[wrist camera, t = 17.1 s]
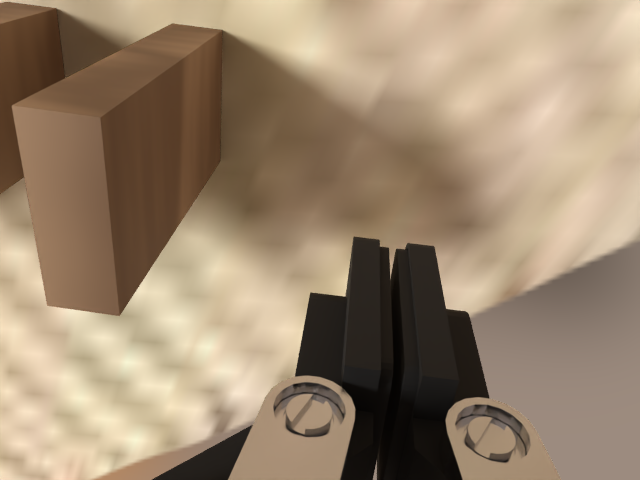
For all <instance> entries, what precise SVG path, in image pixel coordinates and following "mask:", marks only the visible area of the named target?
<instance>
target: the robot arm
mask: <svg viewBox="0 0 640 480" xmlns="http://www.w3.org/2000/svg"><path fill="white" fill-rule="evenodd" d="M376 460H377V480H561V478H560V476H559V474H558V472H557V470H556V468H555V467H554V464H553V462H552V461H551V459H550V457H549V454H548V453H547V451H546V449H545V447H544V445H543V443H542V441H541V439H540V437H539V435H538V433H537V431H536V430H535V428H534V427H533V425H532V424H531V422H530V421H529V420H528V419H527V418H525V417H524V416H523V415H522V414H521V413H520V412H519V411H517V410H515V409H514V408H512V407H510V406H509V405H507V404H505V403H502V402H499V401H496V400H493V399H489V395H488V390H487V386H486V382H485V378H484V374H483V370H482V366H481V362H480V358H479V353H478V349H477V345H476V341H475V337H474V333H473V329H472V325H471V321H470V317H469V314H468V313H467V312H466V311H457V310H449V309H446V307H445V301H444V296H443V290H442V285H441V280H440V274H439V269H438V263H437V258H436V253H435V248H434V246H427V245H419V244H410V243H407V245H406V249H405V250H404V249H396V252H395V257H394V263H393V268H392V274H391V280H390V261H389V248H387V247H380V241H379V240H377V239H368V238H360V237H354V238H353V245H352V253H351V260H350V268H349V275H348V283H347V290H346V297H343V296H334V295H326V294H318V293H310V298H309V303H308V308H307V314H306V319H305V325H304V330H303V336H302V341H301V347H300V352H299V358H298V363H297V368H296V374H295V377H292V378H289V379H286V380H284V381H281V382H280V383H278V384H277V385H276V386H274V387H273V388H272V389H271V390H270V392H269V393H268V394H267V396H266V397H265V400H264V402H263V404H262V406H261V408H260V411H259V413H258V415H257V417H256V419H255V422H254V424H253V425H251V426H250V427H248V428H246V429H244V430H242V431H240V432H239V433H237V434H235V435H233V436H231V437H229V438H227V439H226V440H224V441H222V442H220V443H218V444H217V445H215V446H213V447H211V448H209V449H207V450H205V451H204V452H202V453H200V454H198V455H196V456H195V457H193V458H191V459H189V460H187V461H185V462H183V463H182V464H180V465H178V466H176V467H174V468H173V469H171V470H169V471H167V472H165V473H163V474H161V475H159V476H158V477H156V478H154V479H153V480H373V475H374V470H375V465H376Z"/></svg>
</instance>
